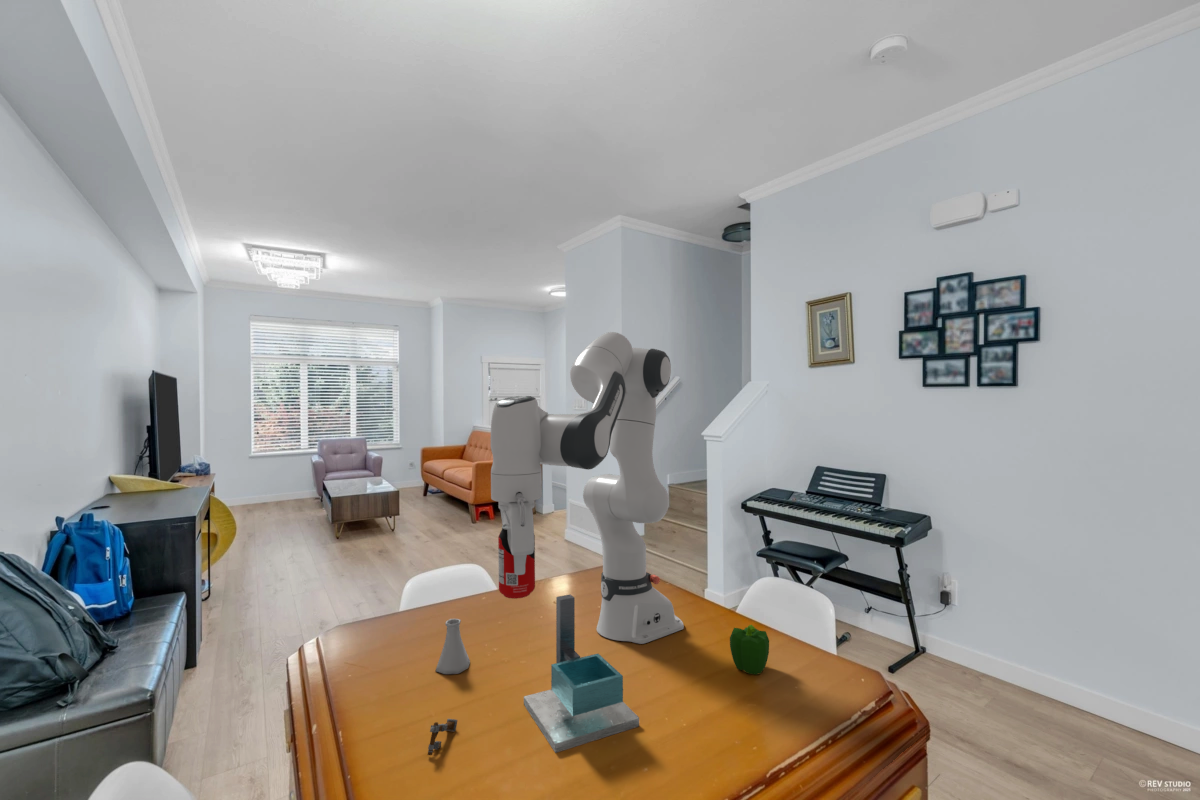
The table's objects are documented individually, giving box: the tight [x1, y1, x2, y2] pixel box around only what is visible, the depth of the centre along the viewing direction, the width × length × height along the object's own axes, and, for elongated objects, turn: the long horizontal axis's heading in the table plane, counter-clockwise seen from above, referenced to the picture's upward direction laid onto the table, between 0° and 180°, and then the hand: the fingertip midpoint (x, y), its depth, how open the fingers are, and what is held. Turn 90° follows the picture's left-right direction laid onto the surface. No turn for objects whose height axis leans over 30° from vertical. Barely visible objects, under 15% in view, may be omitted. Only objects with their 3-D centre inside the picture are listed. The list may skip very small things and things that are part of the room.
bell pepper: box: [729, 624, 770, 675], centre depth 115 cm, size 8×8×10 cm
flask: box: [435, 618, 471, 675], centre depth 116 cm, size 7×7×10 cm
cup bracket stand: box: [523, 593, 640, 754], centre depth 98 cm, size 16×16×20 cm
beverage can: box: [497, 524, 536, 600], centre depth 93 cm, size 6×6×12 cm
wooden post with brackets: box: [427, 718, 458, 756], centre depth 89 cm, size 2×8×4 cm, turn 169°
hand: (517, 567), depth 93 cm, fingers closed on beverage can, 6 cm apart
